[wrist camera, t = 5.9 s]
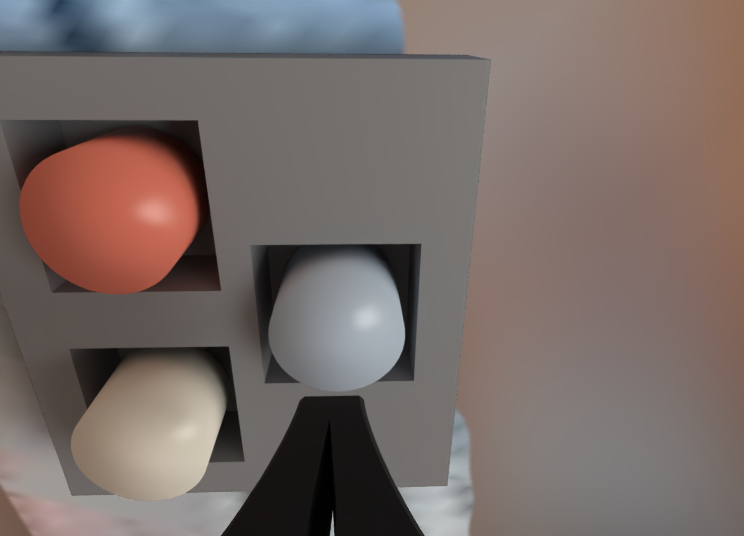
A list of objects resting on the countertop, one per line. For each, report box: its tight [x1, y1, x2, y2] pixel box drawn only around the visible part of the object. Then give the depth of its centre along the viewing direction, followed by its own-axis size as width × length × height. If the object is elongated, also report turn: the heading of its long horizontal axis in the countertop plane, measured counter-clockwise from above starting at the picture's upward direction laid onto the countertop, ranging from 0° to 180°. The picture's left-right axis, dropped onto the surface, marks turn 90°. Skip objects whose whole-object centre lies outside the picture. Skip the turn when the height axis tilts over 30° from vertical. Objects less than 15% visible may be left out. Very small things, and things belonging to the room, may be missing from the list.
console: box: [0, 51, 491, 496], centre depth 17 cm, size 15×14×3 cm
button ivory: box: [71, 347, 231, 501], centre depth 16 cm, size 4×4×3 cm
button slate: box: [269, 244, 405, 391], centre depth 16 cm, size 4×4×3 cm
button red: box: [19, 126, 210, 294], centre depth 14 cm, size 4×4×3 cm
